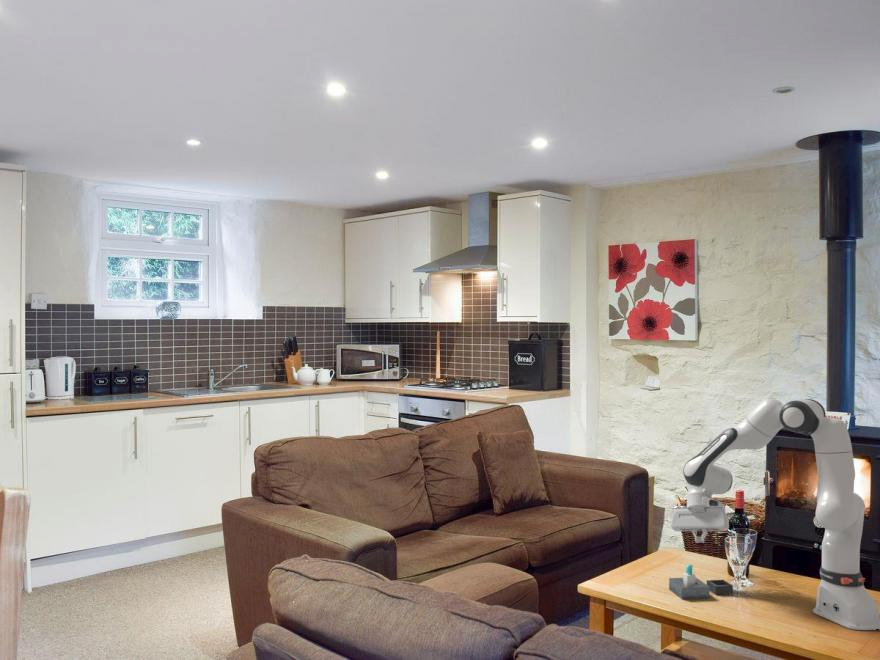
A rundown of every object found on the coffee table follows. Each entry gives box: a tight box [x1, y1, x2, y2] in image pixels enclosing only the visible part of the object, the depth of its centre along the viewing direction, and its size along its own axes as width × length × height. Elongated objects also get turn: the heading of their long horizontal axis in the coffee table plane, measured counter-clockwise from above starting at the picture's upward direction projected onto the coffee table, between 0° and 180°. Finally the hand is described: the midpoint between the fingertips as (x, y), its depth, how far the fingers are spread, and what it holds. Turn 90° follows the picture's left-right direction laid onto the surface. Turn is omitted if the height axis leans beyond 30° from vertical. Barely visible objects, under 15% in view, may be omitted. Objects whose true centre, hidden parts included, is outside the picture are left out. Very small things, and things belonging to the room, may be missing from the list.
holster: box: [706, 579, 734, 596], centre depth 267 cm, size 6×6×3 cm
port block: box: [668, 576, 710, 600], centre depth 264 cm, size 10×10×4 cm
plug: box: [682, 564, 696, 585], centre depth 264 cm, size 3×3×10 cm
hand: (699, 542), depth 272 cm, fingers closed
